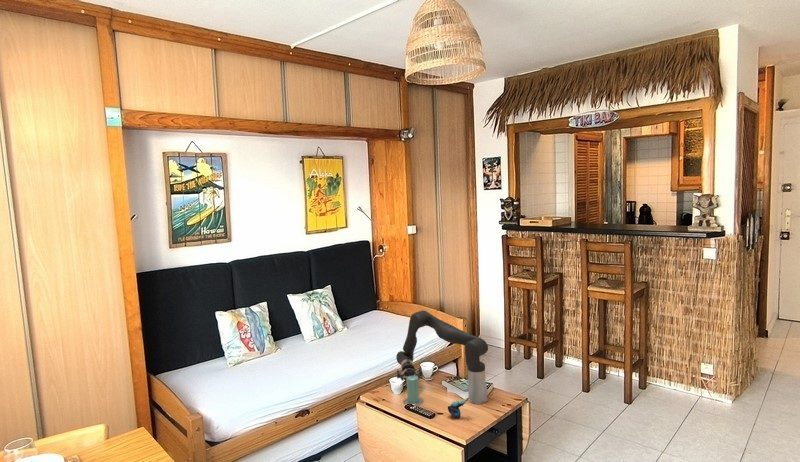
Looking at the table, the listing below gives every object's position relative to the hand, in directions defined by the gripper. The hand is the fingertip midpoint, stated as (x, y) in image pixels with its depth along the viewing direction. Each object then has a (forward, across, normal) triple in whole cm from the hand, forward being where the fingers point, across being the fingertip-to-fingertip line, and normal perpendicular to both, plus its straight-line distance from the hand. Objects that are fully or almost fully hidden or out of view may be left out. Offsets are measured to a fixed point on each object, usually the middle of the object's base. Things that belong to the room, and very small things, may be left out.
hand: (410, 378), depth 268 cm
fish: (+30, +20, +10) cm, 37 cm away
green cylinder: (+9, 0, +9) cm, 13 cm away
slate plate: (+9, 0, +10) cm, 13 cm away
